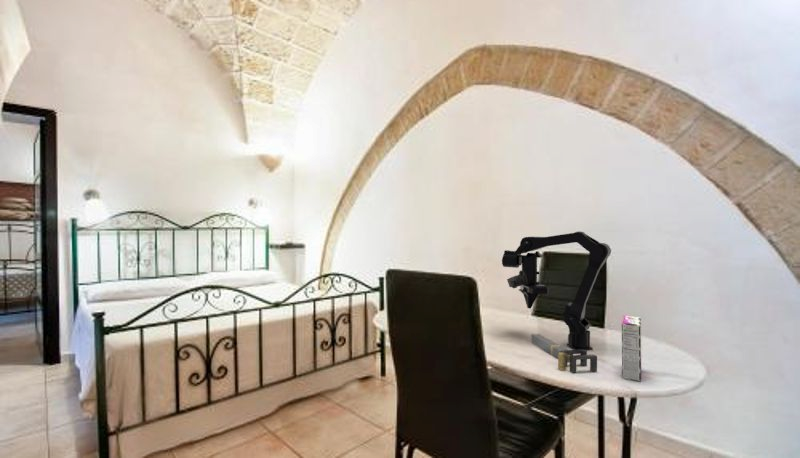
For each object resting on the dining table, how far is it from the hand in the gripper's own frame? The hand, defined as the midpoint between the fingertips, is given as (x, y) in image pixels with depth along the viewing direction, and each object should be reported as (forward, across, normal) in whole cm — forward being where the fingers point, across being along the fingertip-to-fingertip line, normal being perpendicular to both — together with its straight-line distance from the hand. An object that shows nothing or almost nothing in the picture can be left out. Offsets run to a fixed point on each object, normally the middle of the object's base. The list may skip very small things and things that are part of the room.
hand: (529, 308), depth 154 cm
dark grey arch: (+12, +35, 0) cm, 37 cm away
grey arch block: (+12, +30, 0) cm, 32 cm away
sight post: (+12, +32, -5) cm, 35 cm away
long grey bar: (+12, +16, 0) cm, 20 cm away
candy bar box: (+12, +39, +13) cm, 43 cm away
